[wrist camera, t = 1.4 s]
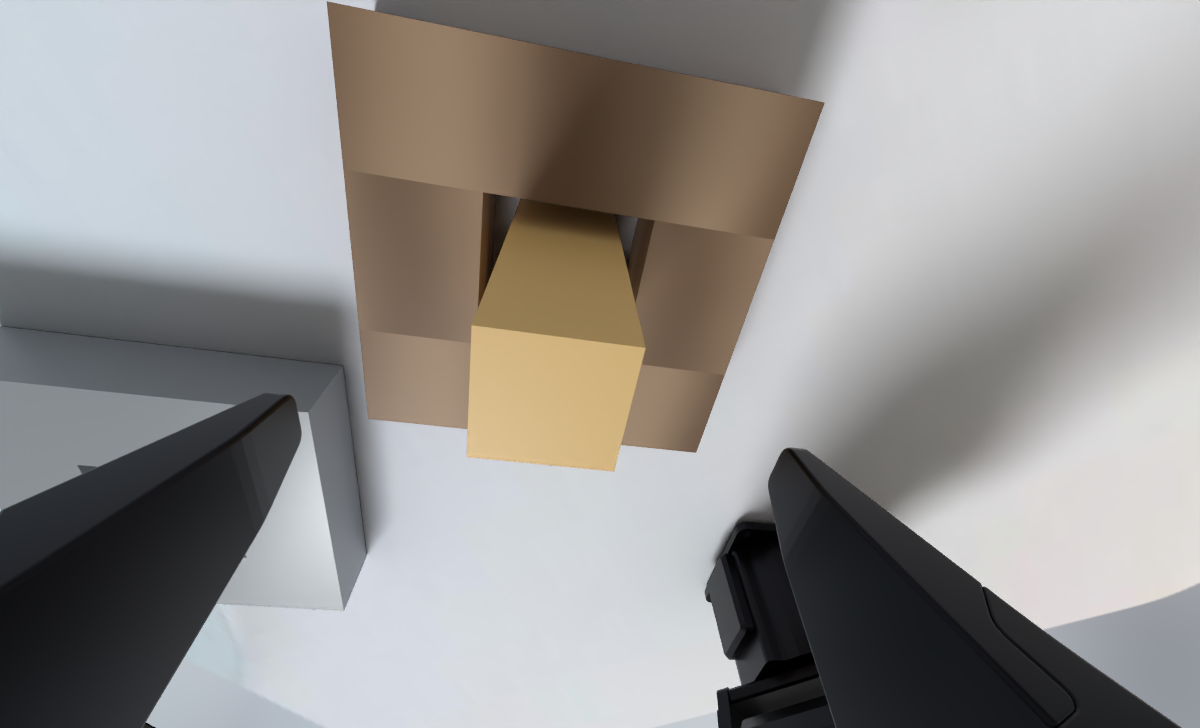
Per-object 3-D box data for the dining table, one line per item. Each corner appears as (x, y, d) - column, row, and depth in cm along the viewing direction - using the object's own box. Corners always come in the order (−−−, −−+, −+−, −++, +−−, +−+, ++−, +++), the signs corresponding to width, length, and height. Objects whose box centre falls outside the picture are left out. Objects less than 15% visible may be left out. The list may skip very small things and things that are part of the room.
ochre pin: (614, 214, 17) (645, 347, 9) (598, 298, 18) (613, 471, 11) (520, 199, 16) (471, 325, 9) (513, 286, 18) (466, 456, 10)
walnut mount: (782, 94, 15) (824, 102, 12) (681, 405, 21) (696, 452, 19) (373, 11, 13) (327, 1, 11) (394, 371, 20) (368, 418, 17)
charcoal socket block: (342, 365, 19) (308, 412, 17) (366, 555, 26) (343, 610, 23) (-1, 326, 18) (-95, 370, 15) (113, 538, 24) (60, 594, 22)
